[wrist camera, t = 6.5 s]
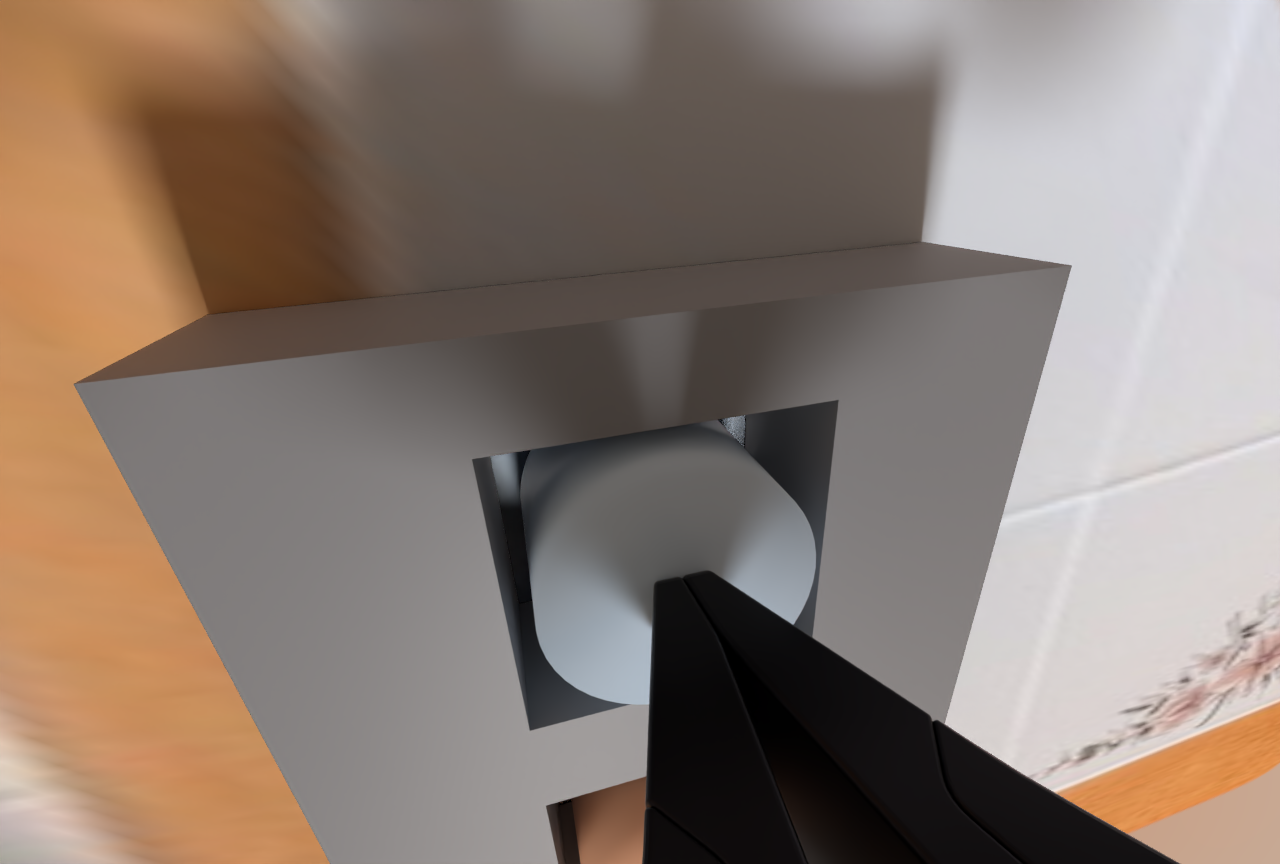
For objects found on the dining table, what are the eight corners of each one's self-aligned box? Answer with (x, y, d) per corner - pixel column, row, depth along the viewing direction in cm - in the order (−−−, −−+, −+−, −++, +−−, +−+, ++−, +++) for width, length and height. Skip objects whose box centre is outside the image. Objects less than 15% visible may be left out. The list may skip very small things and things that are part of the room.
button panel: (820, 878, 20) (871, 985, 17) (481, 999, 18) (480, 1144, 15) (923, 242, 10) (1071, 266, 8) (207, 314, 8) (73, 383, 5)
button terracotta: (725, 757, 15) (780, 889, 12) (573, 802, 14) (595, 955, 12) (728, 645, 13) (793, 771, 11) (553, 689, 12) (574, 838, 10)
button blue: (730, 552, 12) (805, 667, 9) (537, 593, 11) (555, 733, 8) (733, 369, 10) (828, 443, 7) (503, 403, 9) (512, 500, 7)
